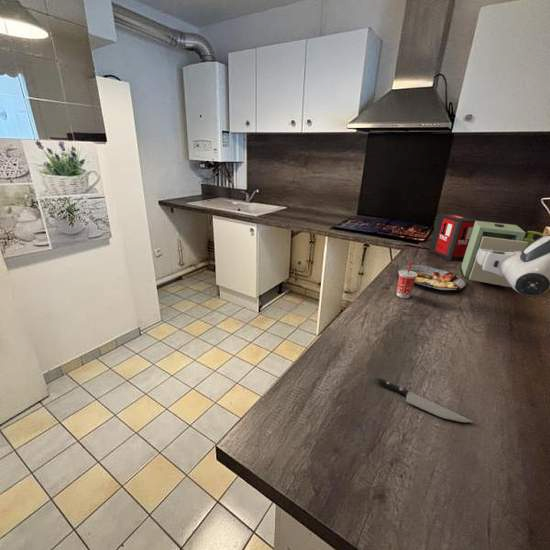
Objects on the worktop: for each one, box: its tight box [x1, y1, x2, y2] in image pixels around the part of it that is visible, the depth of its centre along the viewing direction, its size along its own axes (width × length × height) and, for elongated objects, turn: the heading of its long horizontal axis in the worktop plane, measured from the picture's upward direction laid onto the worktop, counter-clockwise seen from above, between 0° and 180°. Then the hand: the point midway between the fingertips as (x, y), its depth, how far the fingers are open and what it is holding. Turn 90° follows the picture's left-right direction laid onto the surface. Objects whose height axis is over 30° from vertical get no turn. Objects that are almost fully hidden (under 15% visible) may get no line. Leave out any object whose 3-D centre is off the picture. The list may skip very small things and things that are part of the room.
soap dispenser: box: [523, 230, 545, 247], centre depth 126 cm, size 6×7×20 cm
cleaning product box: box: [428, 213, 478, 262], centre depth 149 cm, size 16×9×20 cm, turn 10°
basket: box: [468, 236, 528, 288], centre depth 116 cm, size 17×14×18 cm
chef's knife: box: [376, 377, 474, 423], centre depth 61 cm, size 19×1×3 cm
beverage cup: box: [396, 259, 417, 299], centre depth 105 cm, size 6×6×14 cm
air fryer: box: [461, 220, 527, 279], centre depth 124 cm, size 14×15×23 cm
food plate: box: [397, 264, 467, 292], centre depth 120 cm, size 25×23×4 cm
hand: (507, 253), depth 102 cm, fingers open, 8 cm apart
